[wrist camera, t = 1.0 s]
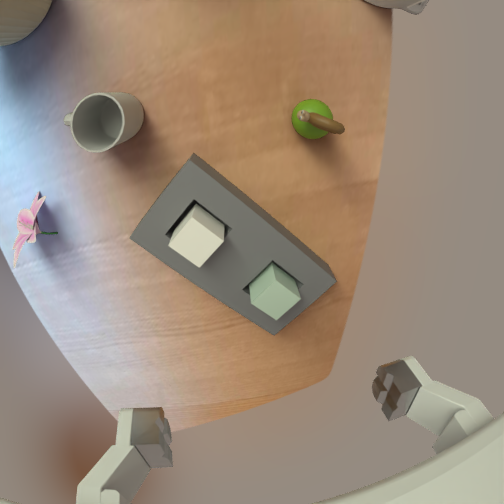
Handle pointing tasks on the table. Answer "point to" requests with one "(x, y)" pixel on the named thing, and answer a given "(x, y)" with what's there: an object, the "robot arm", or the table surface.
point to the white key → (197, 236)
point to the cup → (105, 120)
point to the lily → (28, 226)
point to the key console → (231, 244)
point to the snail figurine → (314, 119)
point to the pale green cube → (273, 291)
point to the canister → (20, 18)
